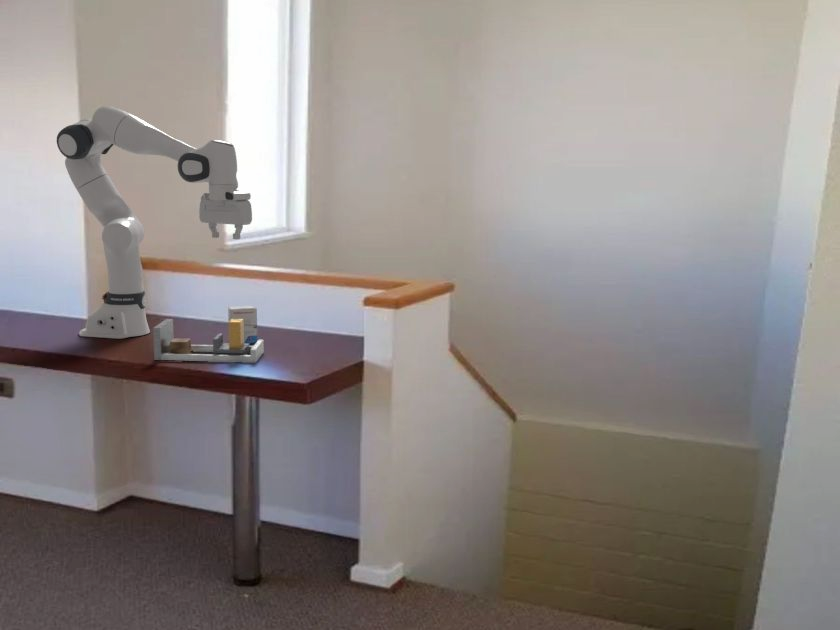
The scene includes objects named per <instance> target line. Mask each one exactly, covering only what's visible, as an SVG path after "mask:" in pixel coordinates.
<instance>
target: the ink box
mask: <svg viewBox="0 0 840 630" xmlns="http://www.w3.org/2000/svg"><path fill="white" fill-rule="evenodd" d="M227 310H228V311H227V313H228V314H227V315H228V317H227V320H228V323H229V321H230V320H231V319H244V343H249V345H251V344H256V342H257V341H258V312H257V311H258V309H257V307H256V306H254V305H244V306H243V305H242V306H228V309H227Z"/></svg>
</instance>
